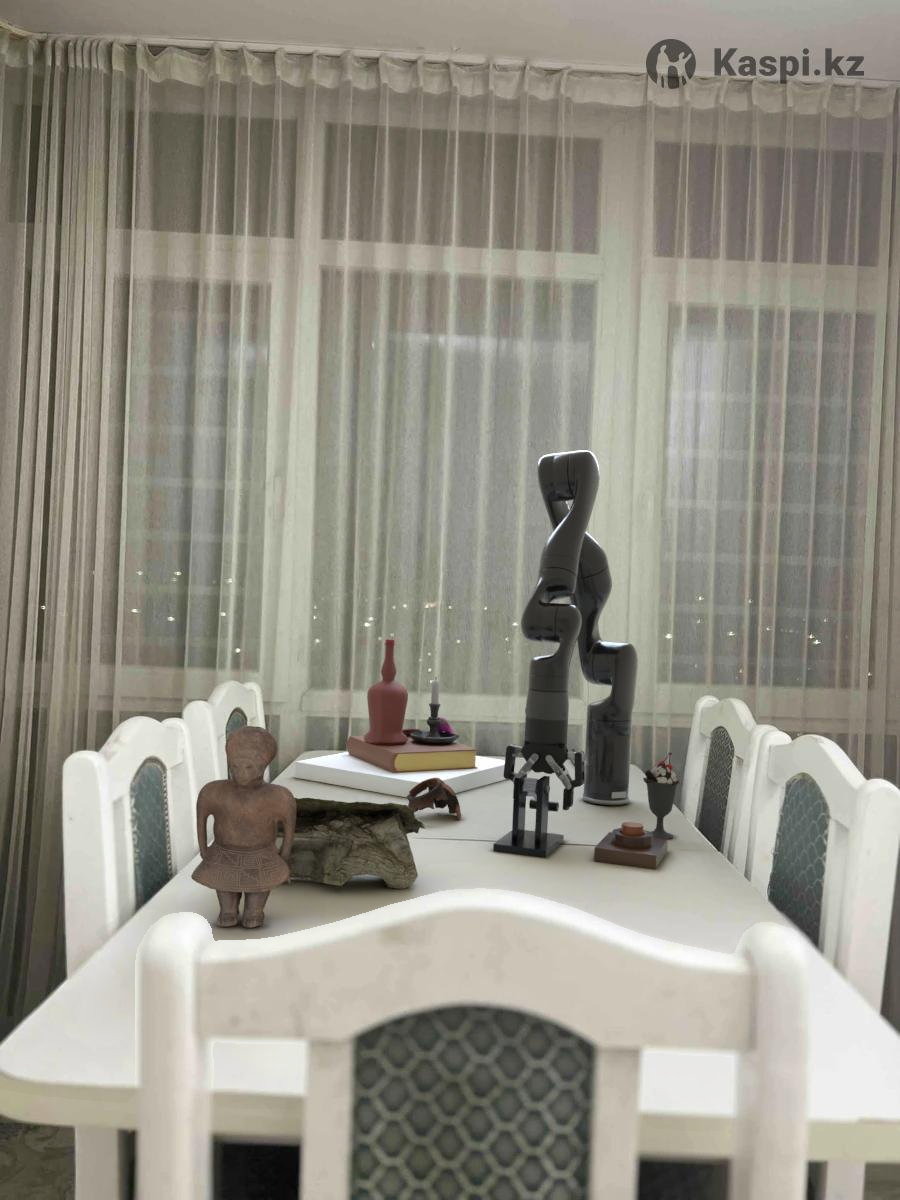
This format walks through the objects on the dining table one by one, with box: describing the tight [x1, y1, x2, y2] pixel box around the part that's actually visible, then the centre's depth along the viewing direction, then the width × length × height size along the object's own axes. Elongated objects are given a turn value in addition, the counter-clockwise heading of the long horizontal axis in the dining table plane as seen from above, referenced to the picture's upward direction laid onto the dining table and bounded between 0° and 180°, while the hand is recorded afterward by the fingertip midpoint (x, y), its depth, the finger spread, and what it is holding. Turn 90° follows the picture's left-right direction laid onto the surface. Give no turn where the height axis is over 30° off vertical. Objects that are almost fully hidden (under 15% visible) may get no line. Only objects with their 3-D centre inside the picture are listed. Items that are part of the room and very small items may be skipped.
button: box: [621, 821, 645, 836], centre depth 174 cm, size 4×4×2 cm
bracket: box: [492, 774, 565, 859], centre depth 178 cm, size 12×9×12 cm
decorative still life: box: [294, 638, 517, 798], centre depth 237 cm, size 35×40×31 cm
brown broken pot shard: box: [406, 778, 462, 821], centre depth 198 cm, size 12×10×8 cm
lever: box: [523, 777, 560, 813], centre depth 182 cm, size 12×5×2 cm, turn 160°
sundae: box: [642, 752, 682, 840], centre depth 189 cm, size 7×7×15 cm
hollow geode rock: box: [276, 797, 426, 890], centre depth 151 cm, size 28×13×15 cm
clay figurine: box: [190, 725, 296, 928], centre depth 133 cm, size 13×10×25 cm
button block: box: [593, 827, 669, 870], centre depth 174 cm, size 12×10×4 cm
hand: (542, 806), depth 186 cm, fingers open, 8 cm apart
